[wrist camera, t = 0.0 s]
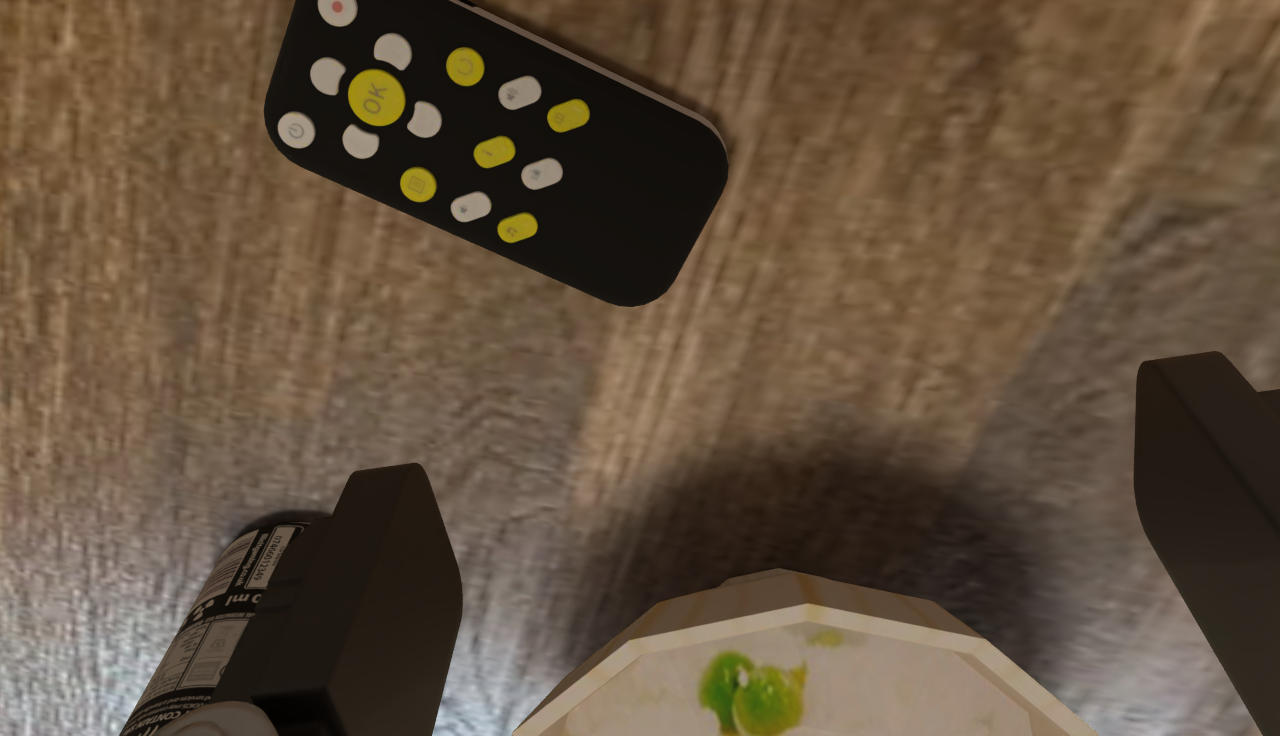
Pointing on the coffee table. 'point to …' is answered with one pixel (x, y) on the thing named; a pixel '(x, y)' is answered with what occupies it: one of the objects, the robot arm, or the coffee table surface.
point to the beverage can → (211, 629)
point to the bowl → (799, 670)
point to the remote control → (498, 140)
